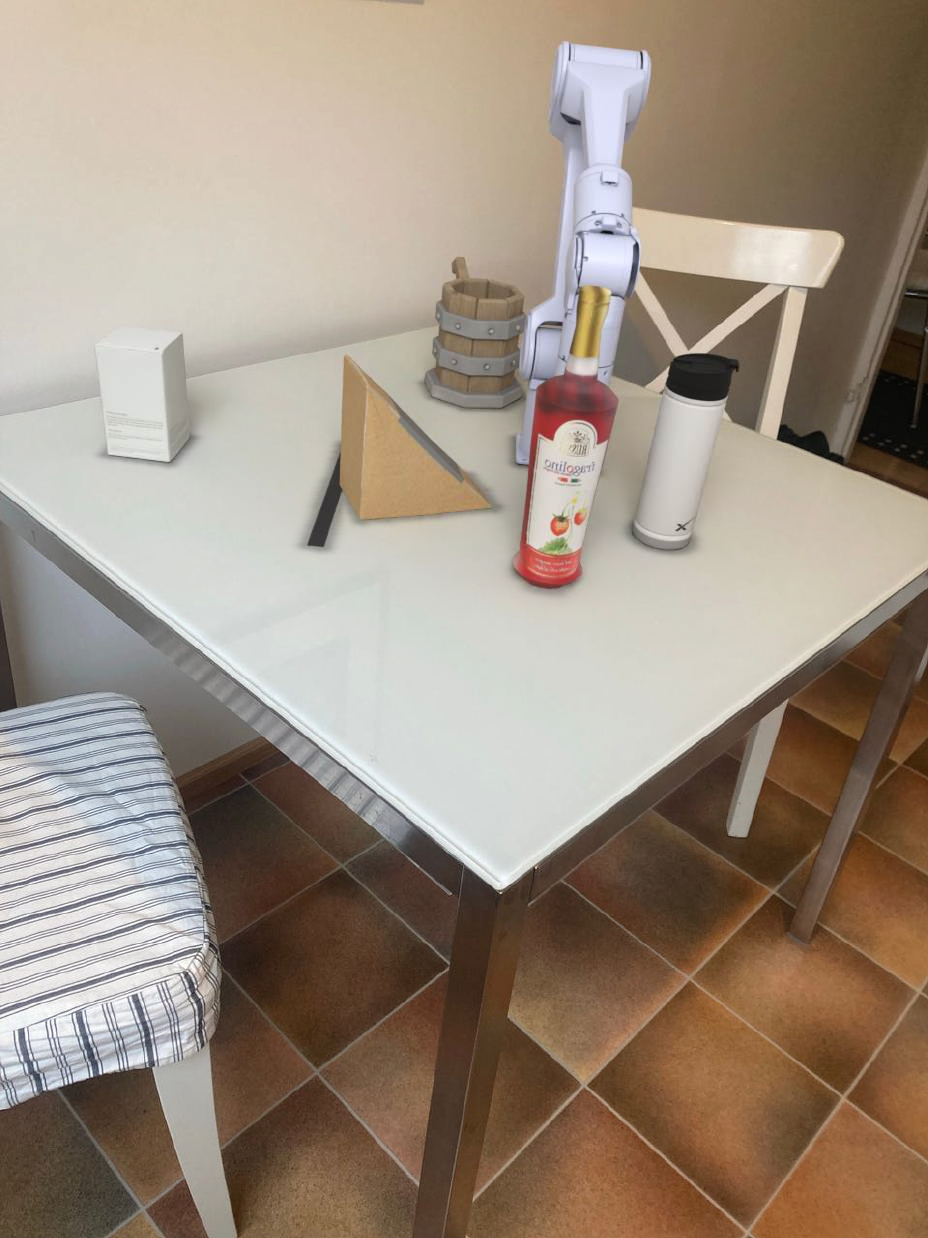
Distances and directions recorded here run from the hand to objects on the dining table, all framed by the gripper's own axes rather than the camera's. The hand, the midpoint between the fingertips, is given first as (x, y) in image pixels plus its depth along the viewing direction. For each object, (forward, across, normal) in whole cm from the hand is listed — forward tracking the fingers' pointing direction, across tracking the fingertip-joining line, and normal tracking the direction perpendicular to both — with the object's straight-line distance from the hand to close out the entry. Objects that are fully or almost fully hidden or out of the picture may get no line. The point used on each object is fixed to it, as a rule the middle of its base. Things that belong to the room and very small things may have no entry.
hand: (564, 480), depth 107 cm
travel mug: (+4, +3, +11) cm, 12 cm away
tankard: (+4, -37, -12) cm, 39 cm away
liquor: (+4, +14, -2) cm, 15 cm away
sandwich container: (+4, 0, -16) cm, 16 cm away
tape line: (+4, +1, -25) cm, 25 cm away
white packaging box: (+4, -5, -47) cm, 47 cm away
